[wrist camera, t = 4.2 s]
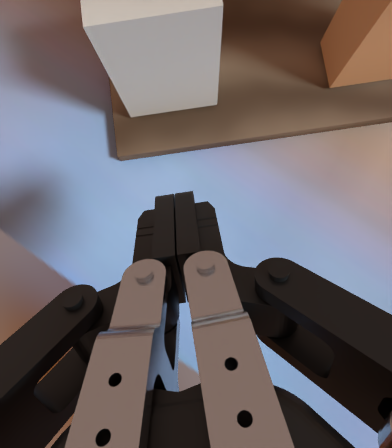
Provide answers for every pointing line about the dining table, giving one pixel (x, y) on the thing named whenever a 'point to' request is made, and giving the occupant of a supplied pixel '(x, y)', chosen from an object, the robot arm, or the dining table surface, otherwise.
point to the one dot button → (158, 51)
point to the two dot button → (359, 43)
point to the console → (260, 86)
